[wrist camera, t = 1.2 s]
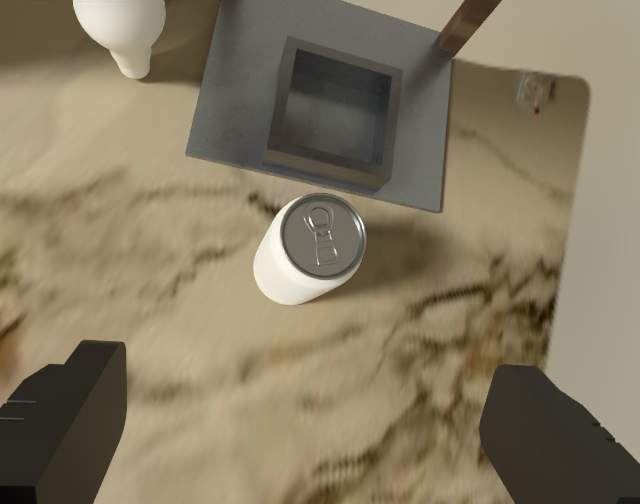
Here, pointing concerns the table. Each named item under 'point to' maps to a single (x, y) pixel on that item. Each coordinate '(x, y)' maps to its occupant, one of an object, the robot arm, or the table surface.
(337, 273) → the can
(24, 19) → the table surface
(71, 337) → the table surface
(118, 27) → the lightbulb
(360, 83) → the socket
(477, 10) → the wooden arch stand
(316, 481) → the table surface
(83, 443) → the robot arm
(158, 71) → the table surface
